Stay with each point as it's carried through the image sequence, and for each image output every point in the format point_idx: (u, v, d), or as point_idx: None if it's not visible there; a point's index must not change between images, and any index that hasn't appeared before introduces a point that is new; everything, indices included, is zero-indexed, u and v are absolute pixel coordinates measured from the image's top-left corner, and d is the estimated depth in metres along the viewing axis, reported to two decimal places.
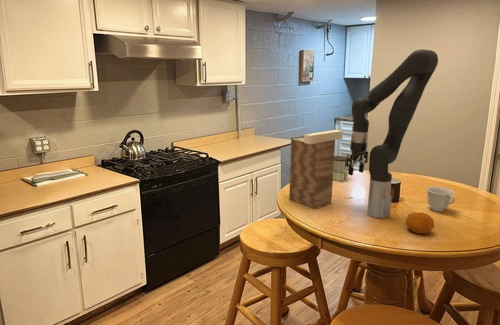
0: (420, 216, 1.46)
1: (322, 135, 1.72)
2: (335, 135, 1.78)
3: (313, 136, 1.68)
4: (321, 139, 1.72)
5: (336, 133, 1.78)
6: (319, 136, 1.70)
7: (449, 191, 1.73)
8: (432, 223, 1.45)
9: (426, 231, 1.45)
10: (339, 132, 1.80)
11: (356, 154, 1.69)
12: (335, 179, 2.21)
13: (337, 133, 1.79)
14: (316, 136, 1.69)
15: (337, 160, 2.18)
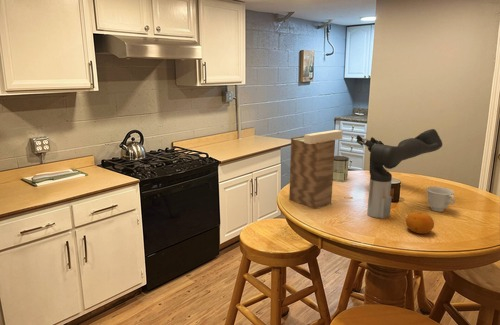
0: (420, 216, 1.46)
1: (322, 135, 1.72)
2: (335, 135, 1.78)
3: (313, 136, 1.68)
4: (321, 139, 1.72)
5: (336, 133, 1.78)
6: (319, 136, 1.70)
7: (449, 191, 1.73)
8: (432, 223, 1.45)
9: (426, 231, 1.45)
10: (339, 132, 1.80)
11: None
12: (335, 179, 2.21)
13: (337, 133, 1.79)
14: (316, 136, 1.69)
15: (337, 160, 2.18)
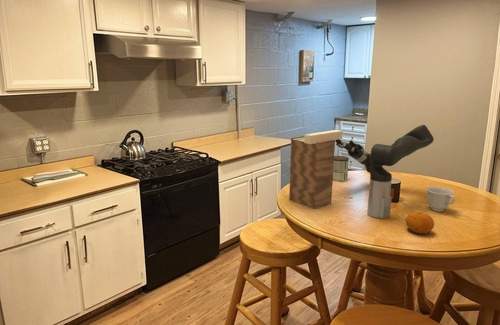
0: (420, 216, 1.46)
1: (322, 135, 1.72)
2: (335, 135, 1.78)
3: (313, 136, 1.68)
4: (321, 139, 1.72)
5: (336, 133, 1.78)
6: (319, 136, 1.70)
7: (449, 191, 1.73)
8: (432, 223, 1.45)
9: (426, 231, 1.45)
10: (339, 132, 1.80)
11: (355, 151, 1.91)
12: (335, 179, 2.21)
13: (337, 133, 1.79)
14: (316, 136, 1.69)
15: (337, 160, 2.18)
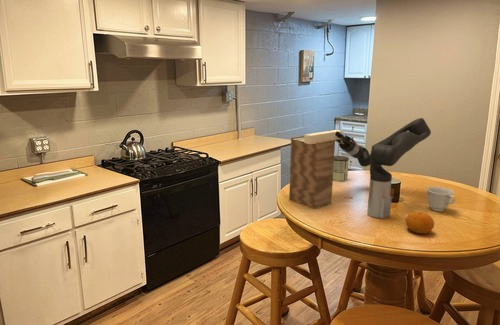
0: (420, 216, 1.46)
1: (322, 135, 1.72)
2: (335, 135, 1.78)
3: (313, 136, 1.68)
4: (321, 139, 1.72)
5: None
6: (319, 136, 1.70)
7: (449, 191, 1.73)
8: (432, 223, 1.45)
9: (426, 231, 1.45)
10: (339, 132, 1.80)
11: (347, 144, 1.84)
12: (335, 179, 2.21)
13: None
14: (316, 136, 1.69)
15: (337, 160, 2.18)
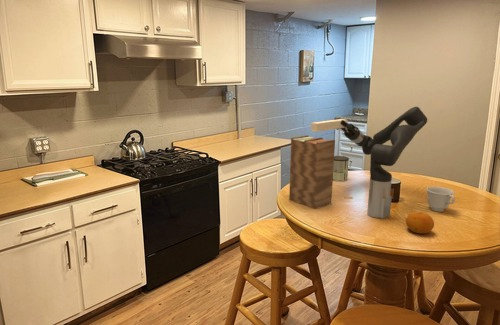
0: (420, 216, 1.46)
1: (328, 123, 1.81)
2: (340, 123, 1.87)
3: (319, 124, 1.77)
4: (327, 127, 1.81)
5: None
6: (325, 124, 1.80)
7: (449, 191, 1.73)
8: (432, 223, 1.45)
9: (426, 231, 1.45)
10: None
11: (352, 132, 1.93)
12: (335, 179, 2.21)
13: None
14: (322, 124, 1.78)
15: (337, 160, 2.18)
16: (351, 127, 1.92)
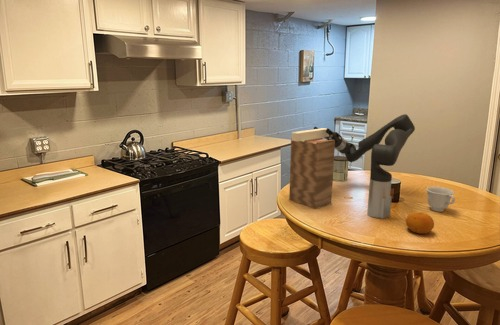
0: (420, 216, 1.46)
1: (309, 133, 1.78)
2: (322, 133, 1.85)
3: (300, 134, 1.74)
4: (308, 137, 1.78)
5: (323, 131, 1.85)
6: (306, 134, 1.77)
7: (449, 191, 1.73)
8: (432, 223, 1.45)
9: (426, 231, 1.45)
10: None
11: (334, 139, 1.91)
12: (335, 179, 2.21)
13: (324, 131, 1.85)
14: (303, 134, 1.75)
15: (337, 160, 2.18)
16: None
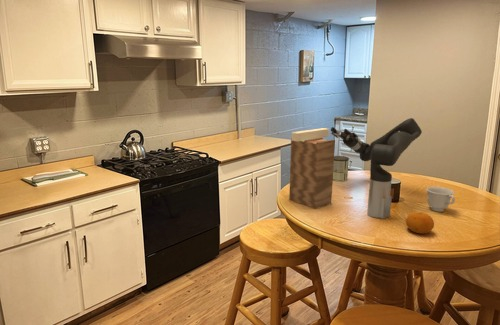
0: (420, 216, 1.46)
1: (309, 133, 1.78)
2: (322, 133, 1.85)
3: (300, 134, 1.74)
4: (308, 137, 1.78)
5: (323, 131, 1.85)
6: (306, 134, 1.77)
7: (449, 191, 1.73)
8: (432, 223, 1.45)
9: (426, 231, 1.45)
10: (326, 130, 1.86)
11: (350, 139, 1.99)
12: (335, 179, 2.21)
13: (324, 131, 1.85)
14: (303, 134, 1.75)
15: (337, 160, 2.18)
16: (351, 135, 1.98)
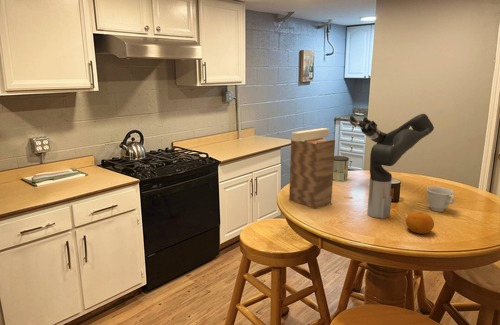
0: (420, 216, 1.46)
1: (309, 133, 1.78)
2: (322, 133, 1.85)
3: (300, 134, 1.74)
4: (308, 137, 1.78)
5: (323, 131, 1.85)
6: (306, 134, 1.77)
7: (449, 191, 1.73)
8: (432, 223, 1.45)
9: (426, 231, 1.45)
10: (326, 130, 1.86)
11: (369, 128, 1.99)
12: (335, 179, 2.21)
13: (324, 131, 1.85)
14: (303, 134, 1.75)
15: (337, 160, 2.18)
16: (370, 124, 1.98)
